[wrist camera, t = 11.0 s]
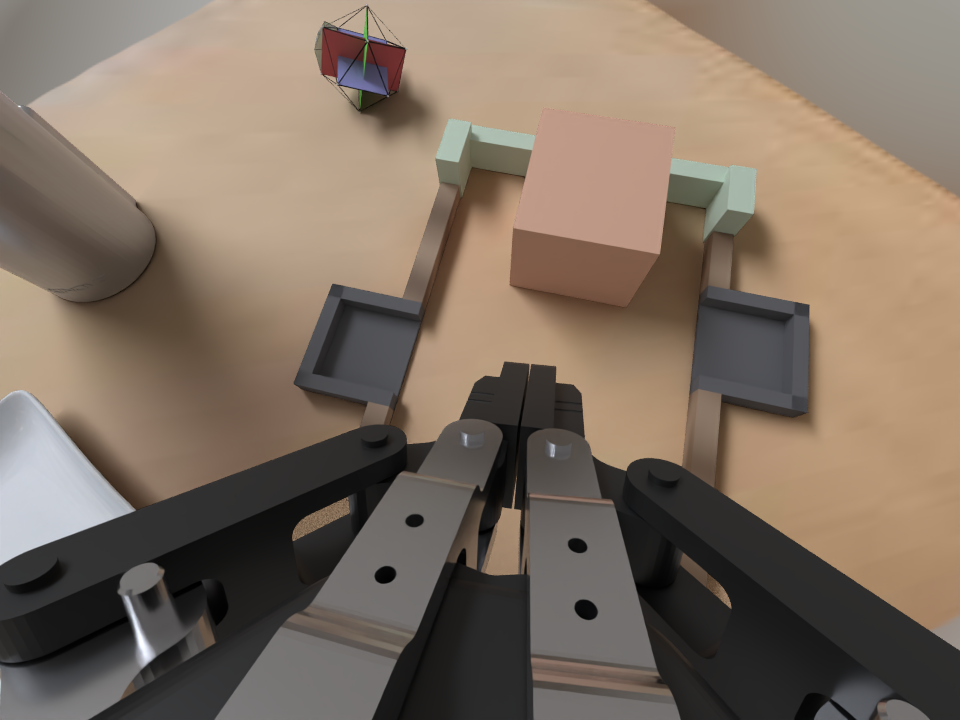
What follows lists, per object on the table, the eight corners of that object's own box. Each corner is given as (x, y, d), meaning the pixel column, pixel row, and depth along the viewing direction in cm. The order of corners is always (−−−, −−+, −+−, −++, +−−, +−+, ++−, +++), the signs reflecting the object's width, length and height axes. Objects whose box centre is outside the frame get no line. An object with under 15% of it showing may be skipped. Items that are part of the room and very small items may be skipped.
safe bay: (726, 246, 35) (753, 213, 32) (441, 193, 38) (435, 158, 34) (730, 197, 37) (757, 160, 33) (455, 150, 39) (451, 111, 36)
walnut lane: (695, 583, 28) (706, 587, 26) (346, 491, 30) (338, 490, 29) (727, 211, 36) (736, 199, 35) (453, 163, 39) (451, 150, 37)
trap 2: (393, 411, 32) (389, 406, 31) (302, 389, 33) (293, 383, 31) (424, 311, 34) (421, 302, 33) (339, 292, 35) (332, 283, 34)
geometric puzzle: (423, 39, 41) (349, -37, 35) (427, 95, 39) (349, 24, 33) (372, 88, 45) (298, 27, 39) (374, 141, 43) (295, 86, 37)
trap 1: (793, 417, 31) (807, 412, 29) (689, 394, 32) (698, 388, 30) (796, 313, 33) (809, 304, 32) (699, 294, 34) (708, 285, 33)
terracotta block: (625, 308, 34) (659, 254, 27) (509, 285, 35) (513, 228, 28) (641, 200, 37) (675, 127, 30) (533, 183, 38) (542, 107, 31)
